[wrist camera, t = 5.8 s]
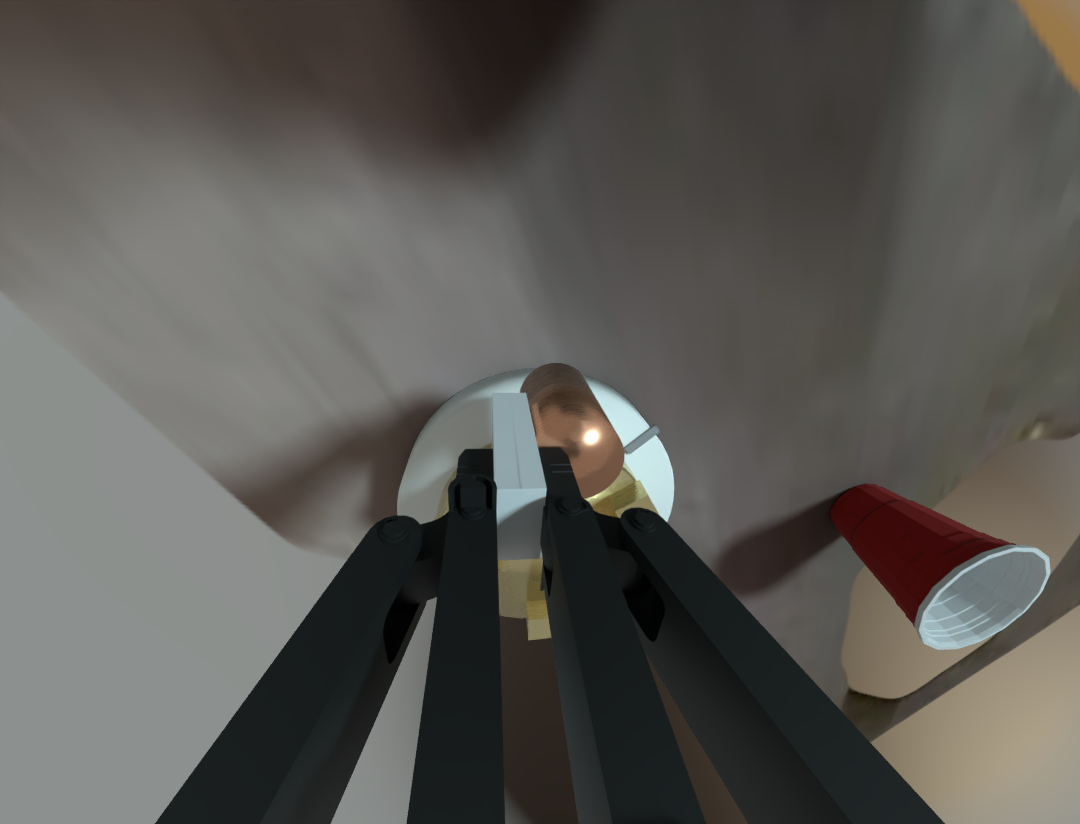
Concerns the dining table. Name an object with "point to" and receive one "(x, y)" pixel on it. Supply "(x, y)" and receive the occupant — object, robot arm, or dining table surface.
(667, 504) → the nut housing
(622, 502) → the ring nut
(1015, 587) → the plastic cup
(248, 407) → the dining table surface
